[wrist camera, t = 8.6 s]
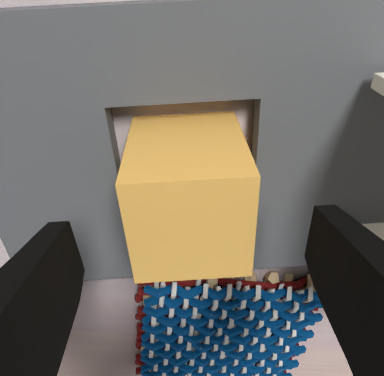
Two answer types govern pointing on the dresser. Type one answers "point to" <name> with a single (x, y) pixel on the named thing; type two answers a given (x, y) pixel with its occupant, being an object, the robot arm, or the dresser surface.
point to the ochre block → (188, 197)
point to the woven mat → (224, 326)
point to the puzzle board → (189, 93)
